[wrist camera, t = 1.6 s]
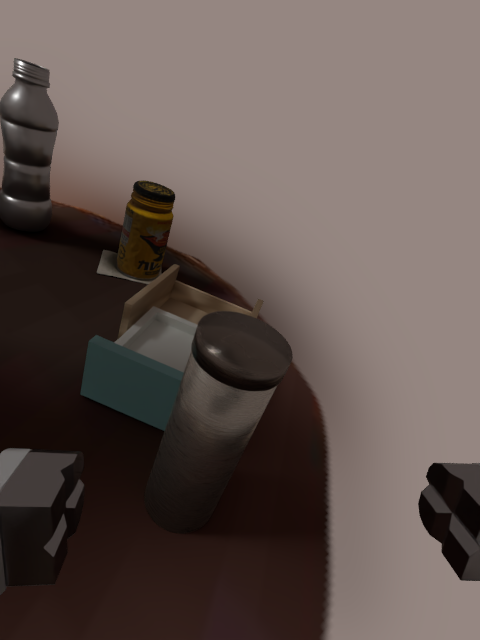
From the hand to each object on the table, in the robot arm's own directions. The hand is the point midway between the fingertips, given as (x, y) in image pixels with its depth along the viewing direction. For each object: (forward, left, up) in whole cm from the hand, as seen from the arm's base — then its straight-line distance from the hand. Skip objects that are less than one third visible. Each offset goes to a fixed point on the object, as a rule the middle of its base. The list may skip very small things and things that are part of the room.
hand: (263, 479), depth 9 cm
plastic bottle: (-37, +38, -17) cm, 56 cm away
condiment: (-21, +39, -17) cm, 48 cm away
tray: (-8, +22, -17) cm, 29 cm away
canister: (-2, +10, -17) cm, 20 cm away
